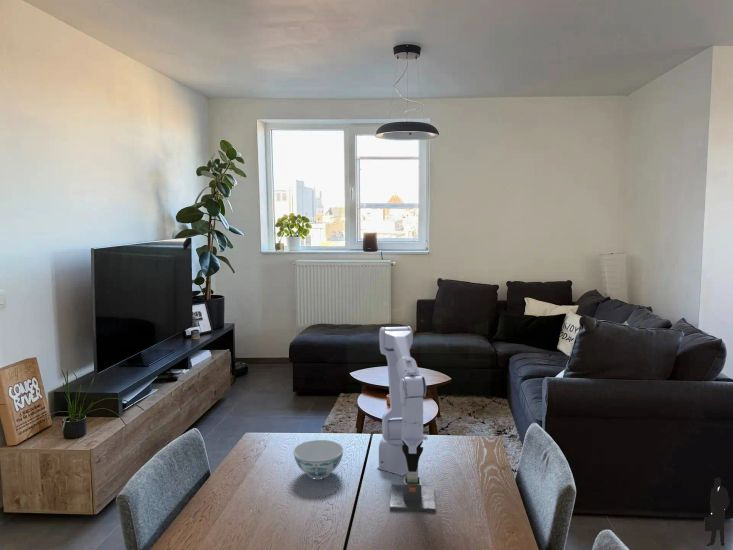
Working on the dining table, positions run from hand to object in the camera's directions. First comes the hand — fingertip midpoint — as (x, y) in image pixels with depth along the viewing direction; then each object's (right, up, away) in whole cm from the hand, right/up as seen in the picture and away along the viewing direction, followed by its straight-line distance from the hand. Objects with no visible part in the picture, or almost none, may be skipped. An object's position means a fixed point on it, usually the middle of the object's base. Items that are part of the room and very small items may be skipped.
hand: (412, 468), depth 144 cm
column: (0, -5, 0) cm, 5 cm away
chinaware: (-27, -8, +16) cm, 32 cm away
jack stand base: (0, -9, +1) cm, 9 cm away
